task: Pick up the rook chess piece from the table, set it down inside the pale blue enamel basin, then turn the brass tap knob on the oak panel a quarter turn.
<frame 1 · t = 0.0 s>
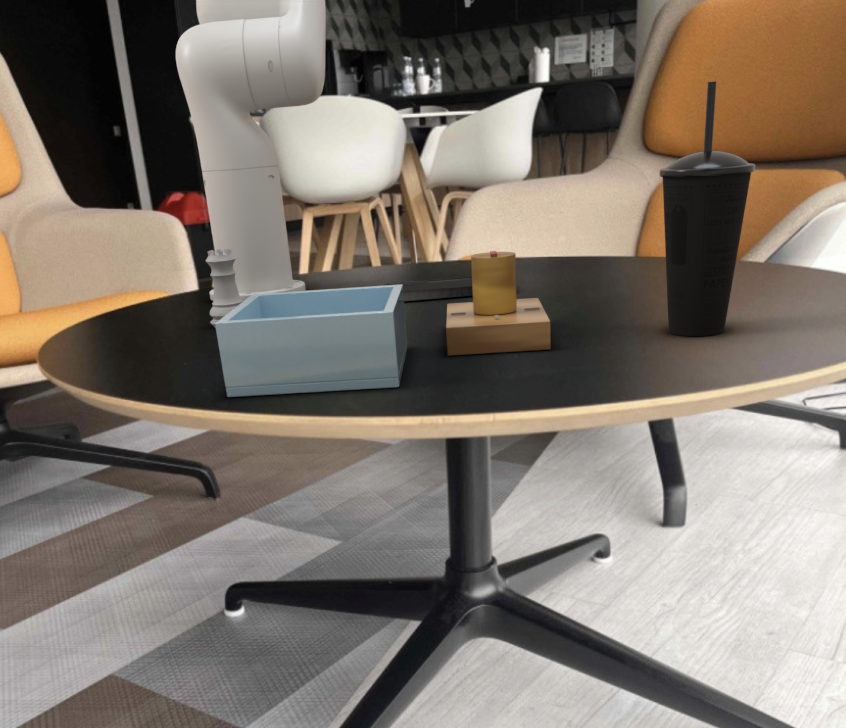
drinking cup: (696, 333, 79), on the table
basin: (324, 371, 74), on the table
tap knob: (494, 281, 79), point 5 cm above the table, hinge at 0.0°
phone: (445, 294, 107), on the table
rook chess piece: (231, 326, 98), on the table
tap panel: (496, 338, 82), on the table
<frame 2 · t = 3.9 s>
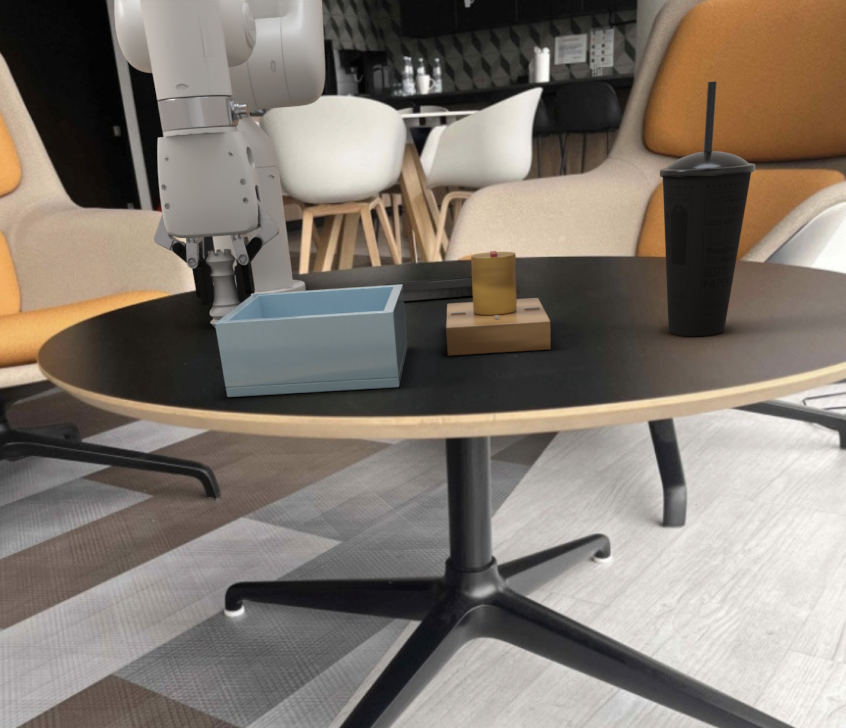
hand: (227, 300, 97), 3 cm above the table, tool pointing down, fingers closed on rook chess piece, 3 cm apart
rook chess piece: (231, 326, 98), on the table, touching gripper
everything else where it was.
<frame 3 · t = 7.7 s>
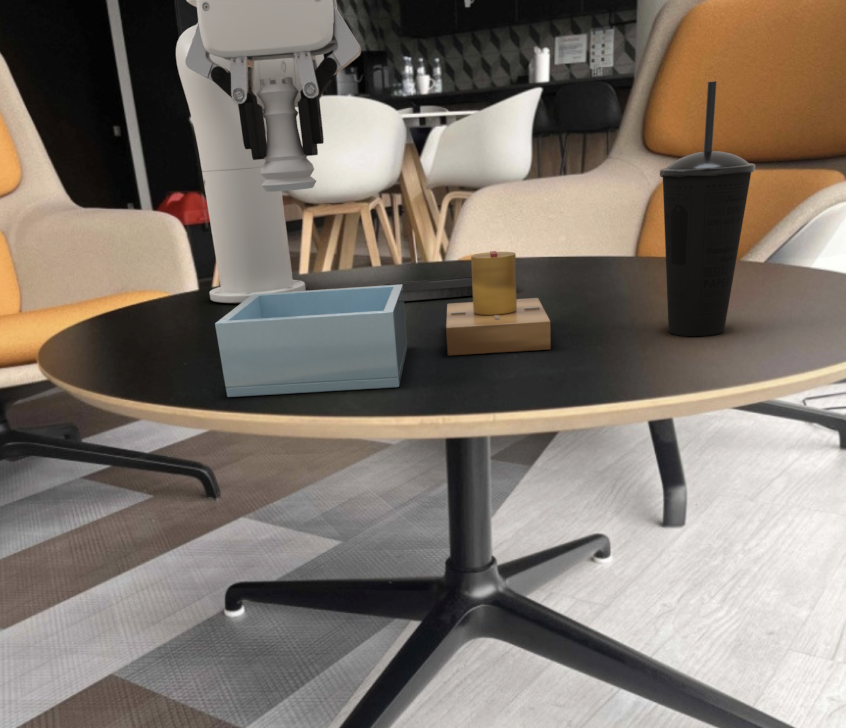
hand: (285, 154, 70), 17 cm above the table, tool pointing down, fingers closed on rook chess piece, 3 cm apart
rook chess piece: (290, 192, 71), point 14 cm above the table, touching gripper
everything else where it was.
when the fingers open (3 cm above the table, at t = 11.4 s): rook chess piece stays where it is, resting on basin.
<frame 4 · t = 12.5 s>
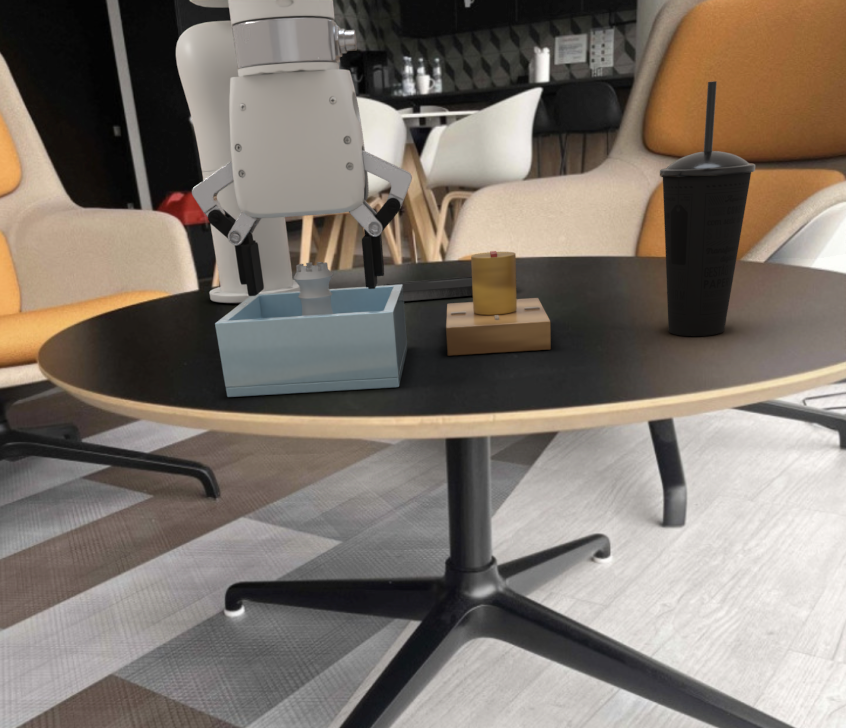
hand: (314, 289, 72), 7 cm above the table, tool pointing down, fingers open, 9 cm apart
rook chess piece: (323, 364, 74), point 1 cm above the table, touching basin
everything else where it was.
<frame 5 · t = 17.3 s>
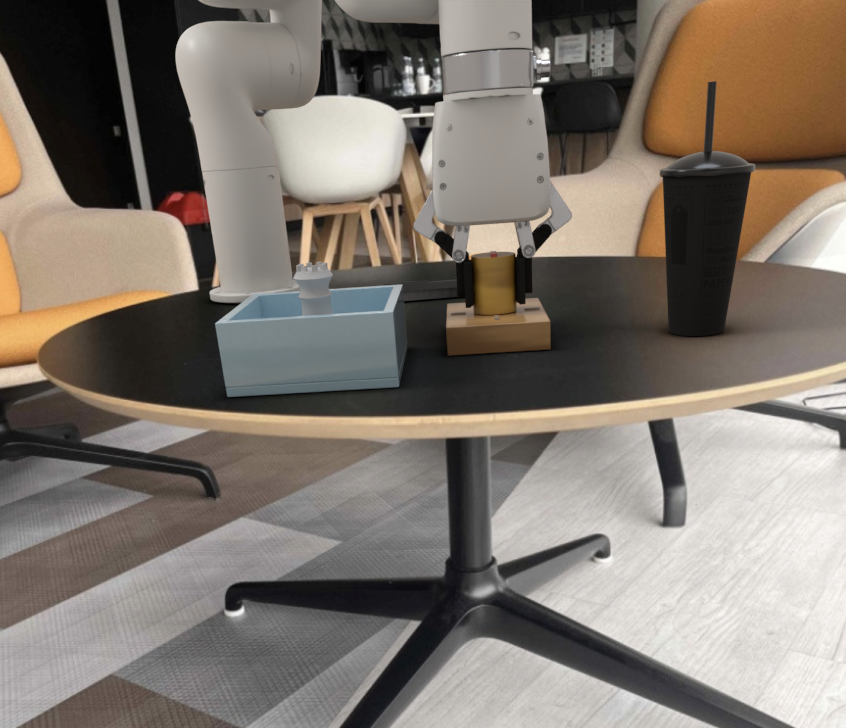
hand: (494, 301, 80), 3 cm above the table, tool pointing down, fingers closed on tap knob, 4 cm apart
tap knob: (494, 281, 79), point 5 cm above the table, hinge at -0.2°, touching gripper
everything else where it was.
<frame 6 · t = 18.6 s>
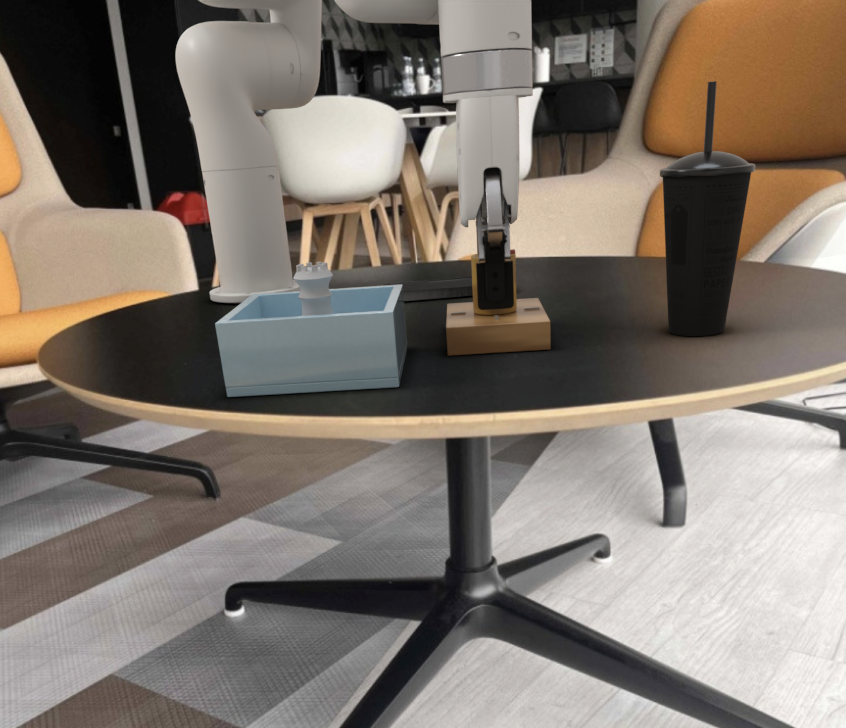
hand: (494, 301, 80), 3 cm above the table, tool pointing down, fingers closed on tap knob, 4 cm apart
tap knob: (494, 281, 79), point 5 cm above the table, hinge at 90.5°, touching gripper
everything else where it was.
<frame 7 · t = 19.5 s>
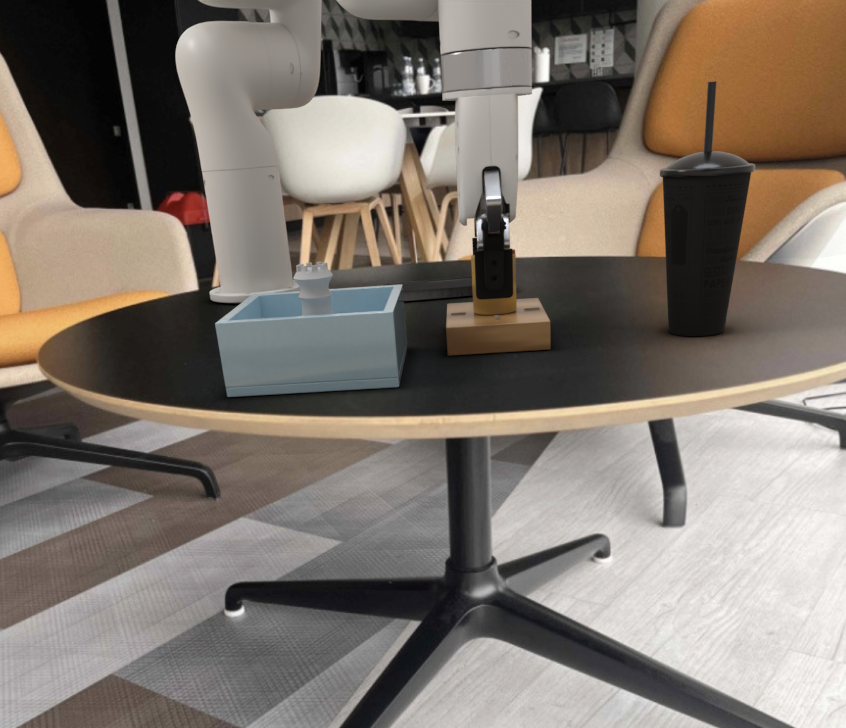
hand: (492, 288, 80), 5 cm above the table, tool pointing down, fingers open, 9 cm apart
tap knob: (494, 281, 79), point 5 cm above the table, hinge at 89.0°
everything else where it was.
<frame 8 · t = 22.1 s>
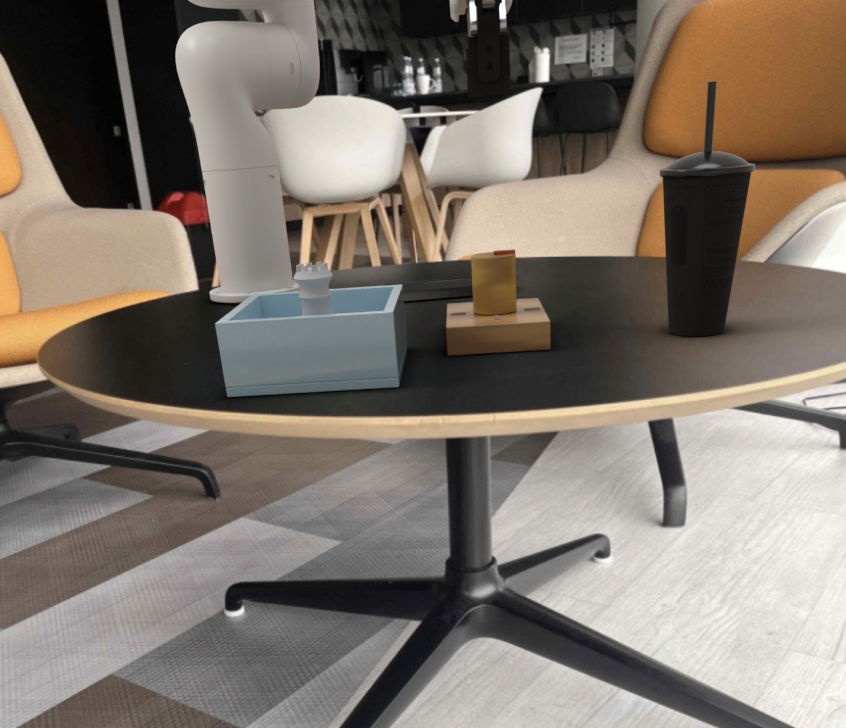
hand: (487, 96, 73), 20 cm above the table, tool pointing down, fingers open, 9 cm apart
nothing on the table moved.
at the end: rook chess piece inside the target area in the basin (0.1 cm from its centre), point 0.6 cm above the basin's base; tap knob at +89° (first picture: +0°) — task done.
